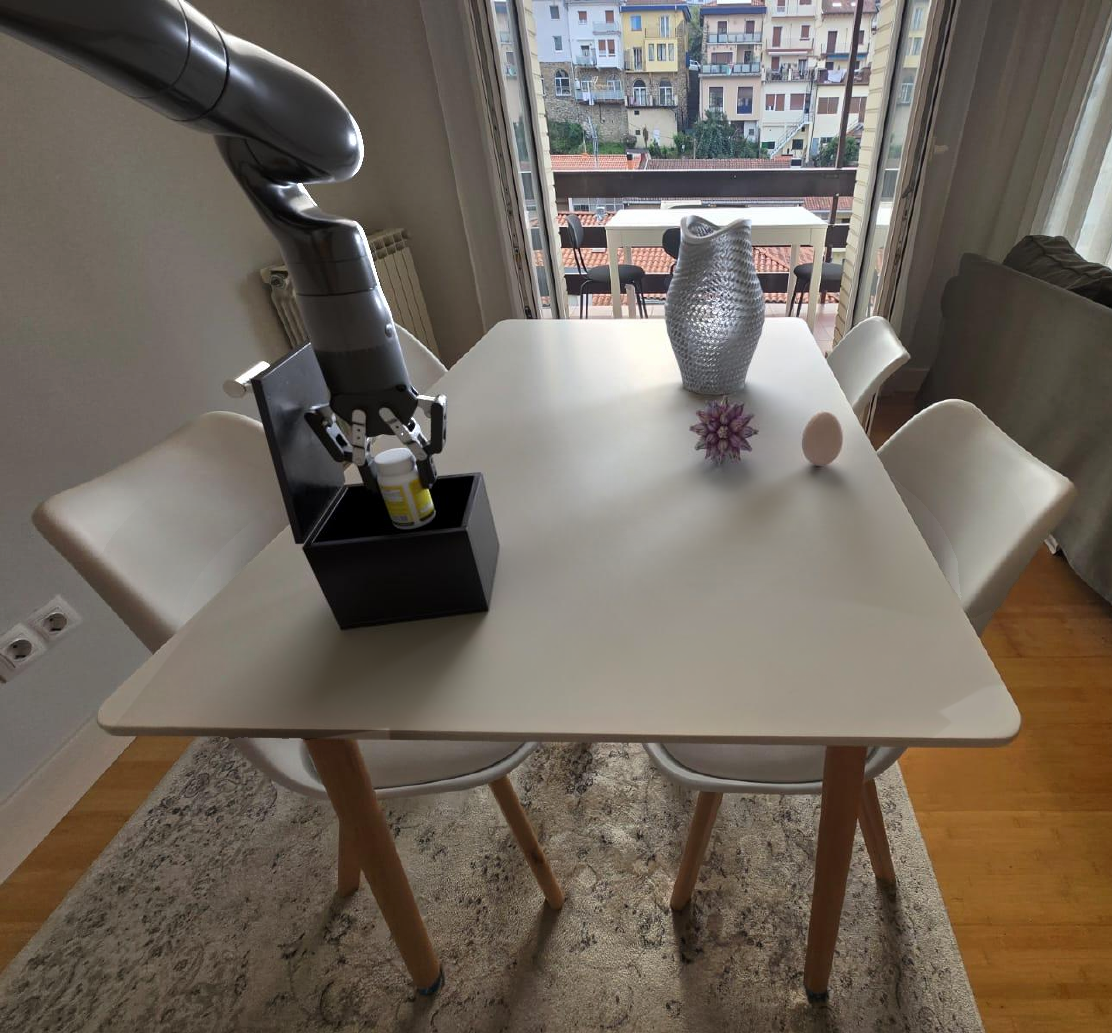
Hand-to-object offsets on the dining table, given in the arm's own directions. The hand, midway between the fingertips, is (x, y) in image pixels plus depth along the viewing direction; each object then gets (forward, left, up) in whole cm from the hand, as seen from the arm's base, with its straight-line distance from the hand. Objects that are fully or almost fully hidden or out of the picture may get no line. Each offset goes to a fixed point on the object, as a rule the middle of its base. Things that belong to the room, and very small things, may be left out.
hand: (403, 487), depth 64 cm
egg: (+21, -60, -14) cm, 65 cm away
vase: (+65, -51, -14) cm, 84 cm away
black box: (0, +1, -14) cm, 14 cm away
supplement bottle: (0, 0, -5) cm, 5 cm away
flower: (+26, -44, -14) cm, 53 cm away
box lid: (0, +8, +7) cm, 10 cm away
